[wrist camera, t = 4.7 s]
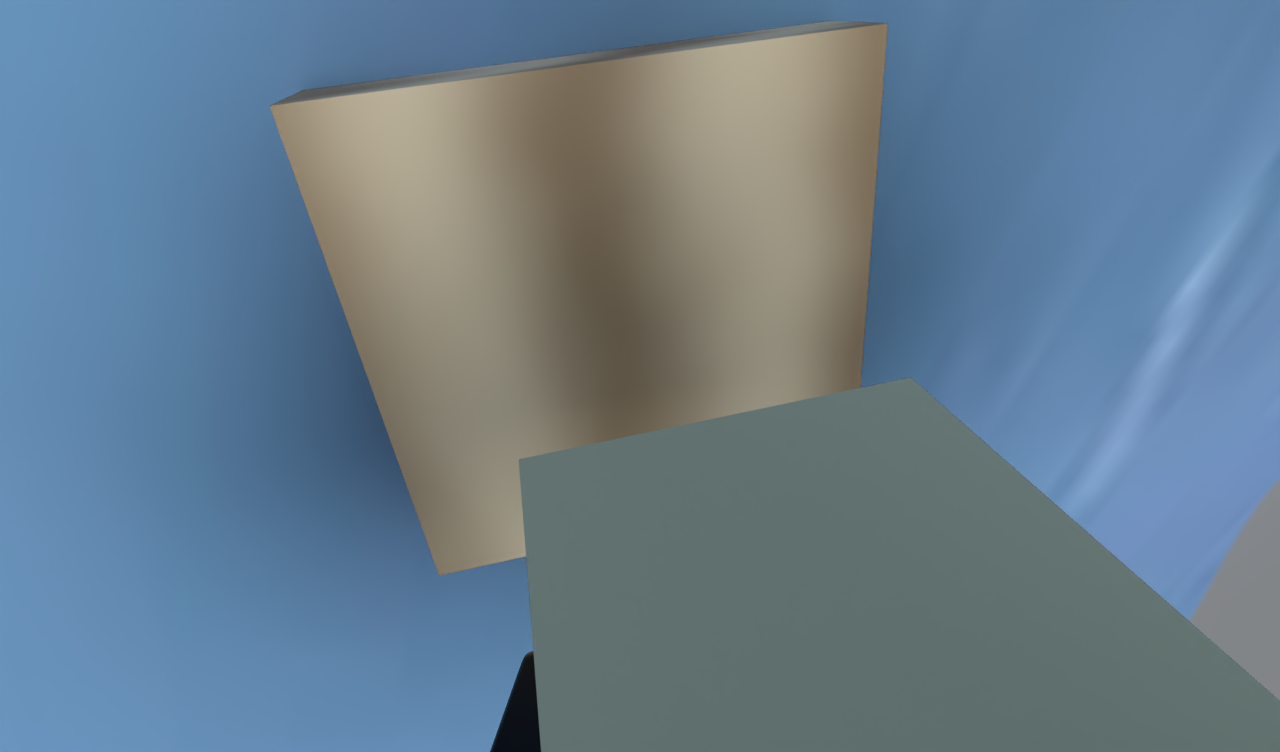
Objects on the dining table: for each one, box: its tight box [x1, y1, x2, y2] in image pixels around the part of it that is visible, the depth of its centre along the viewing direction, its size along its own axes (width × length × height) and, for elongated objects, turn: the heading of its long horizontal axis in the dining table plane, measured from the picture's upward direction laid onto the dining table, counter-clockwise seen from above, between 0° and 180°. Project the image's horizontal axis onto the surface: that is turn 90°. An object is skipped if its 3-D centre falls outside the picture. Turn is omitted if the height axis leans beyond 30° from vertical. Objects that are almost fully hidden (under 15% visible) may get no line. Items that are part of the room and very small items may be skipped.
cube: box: [519, 377, 1280, 752], centre depth 7 cm, size 5×5×5 cm
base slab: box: [270, 21, 888, 575], centre depth 17 cm, size 12×12×3 cm
